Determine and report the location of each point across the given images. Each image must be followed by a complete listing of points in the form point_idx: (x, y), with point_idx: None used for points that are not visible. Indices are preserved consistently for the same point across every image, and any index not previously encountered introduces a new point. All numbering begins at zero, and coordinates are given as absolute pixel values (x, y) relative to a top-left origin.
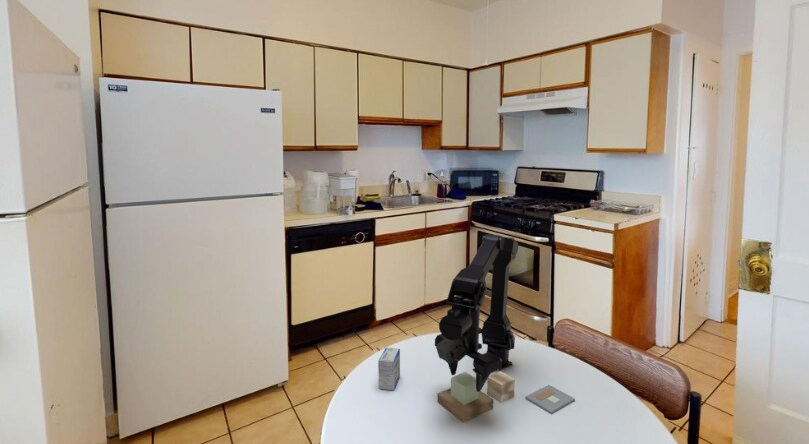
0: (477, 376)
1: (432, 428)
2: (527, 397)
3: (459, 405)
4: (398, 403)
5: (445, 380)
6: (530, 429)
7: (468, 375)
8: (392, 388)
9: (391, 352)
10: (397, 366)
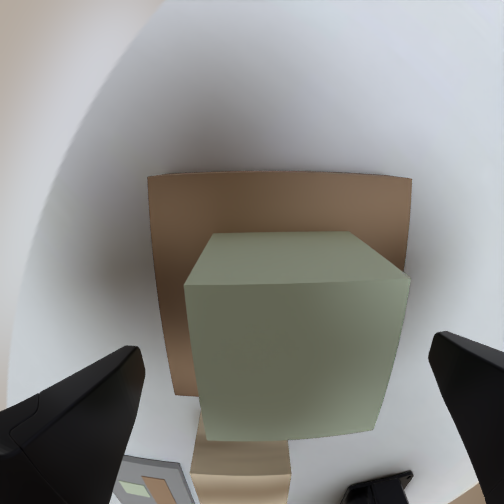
0: (9, 429)
1: (222, 16)
2: (171, 469)
3: (228, 206)
4: (457, 36)
5: (463, 325)
6: (40, 361)
7: (318, 424)
8: None
9: None
10: None
